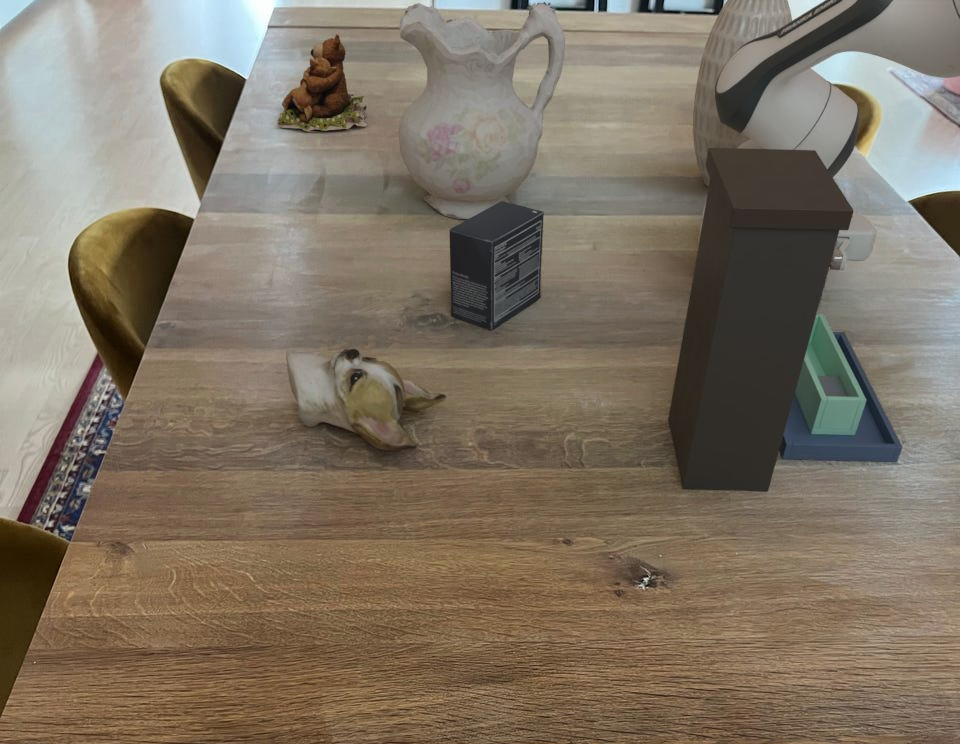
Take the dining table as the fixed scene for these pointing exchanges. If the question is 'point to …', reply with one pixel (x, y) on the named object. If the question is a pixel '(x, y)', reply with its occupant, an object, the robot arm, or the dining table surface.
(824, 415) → the slim bin
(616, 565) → the dining table surface
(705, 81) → the vase
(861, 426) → the tray
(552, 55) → the ceramic pitcher
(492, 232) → the small box
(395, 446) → the ceramic sculpture
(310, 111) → the bear figurine
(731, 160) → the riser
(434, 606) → the dining table surface
